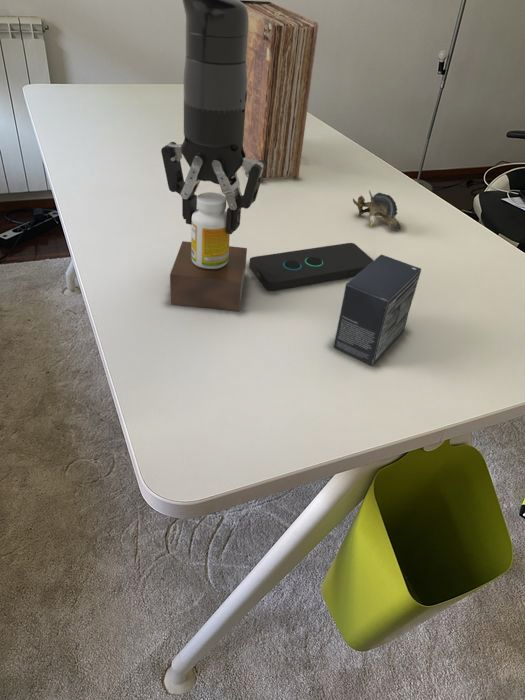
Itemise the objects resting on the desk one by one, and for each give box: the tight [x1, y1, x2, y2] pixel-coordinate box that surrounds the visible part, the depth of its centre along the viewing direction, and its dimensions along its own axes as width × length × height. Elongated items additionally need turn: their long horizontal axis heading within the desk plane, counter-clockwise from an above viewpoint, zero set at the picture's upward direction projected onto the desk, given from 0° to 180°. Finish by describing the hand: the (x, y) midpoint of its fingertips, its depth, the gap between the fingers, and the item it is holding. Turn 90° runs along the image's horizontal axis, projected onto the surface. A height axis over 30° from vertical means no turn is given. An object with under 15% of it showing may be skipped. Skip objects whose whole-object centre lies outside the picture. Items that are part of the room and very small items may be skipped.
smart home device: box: [248, 242, 375, 292], centre depth 90 cm, size 8×2×20 cm
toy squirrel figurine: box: [352, 190, 402, 232], centre depth 105 cm, size 8×7×9 cm
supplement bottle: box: [191, 191, 231, 269], centre depth 77 cm, size 5×5×10 cm
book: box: [239, 0, 319, 183], centre depth 119 cm, size 25×9×30 cm, turn 21°
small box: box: [333, 254, 422, 366], centre depth 74 cm, size 11×6×10 cm, turn 145°
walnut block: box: [169, 240, 248, 312], centre depth 82 cm, size 10×10×5 cm
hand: (211, 226), depth 77 cm, fingers closed on supplement bottle, 5 cm apart
